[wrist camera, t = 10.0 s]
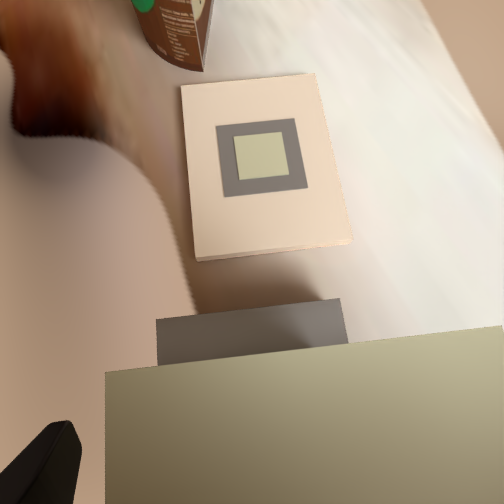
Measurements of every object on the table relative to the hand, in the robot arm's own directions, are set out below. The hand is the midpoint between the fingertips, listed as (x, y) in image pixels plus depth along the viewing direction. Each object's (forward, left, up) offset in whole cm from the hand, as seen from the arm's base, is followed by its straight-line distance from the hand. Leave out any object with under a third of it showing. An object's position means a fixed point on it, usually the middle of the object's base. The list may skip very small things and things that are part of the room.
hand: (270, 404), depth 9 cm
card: (+13, -2, -11) cm, 17 cm away
